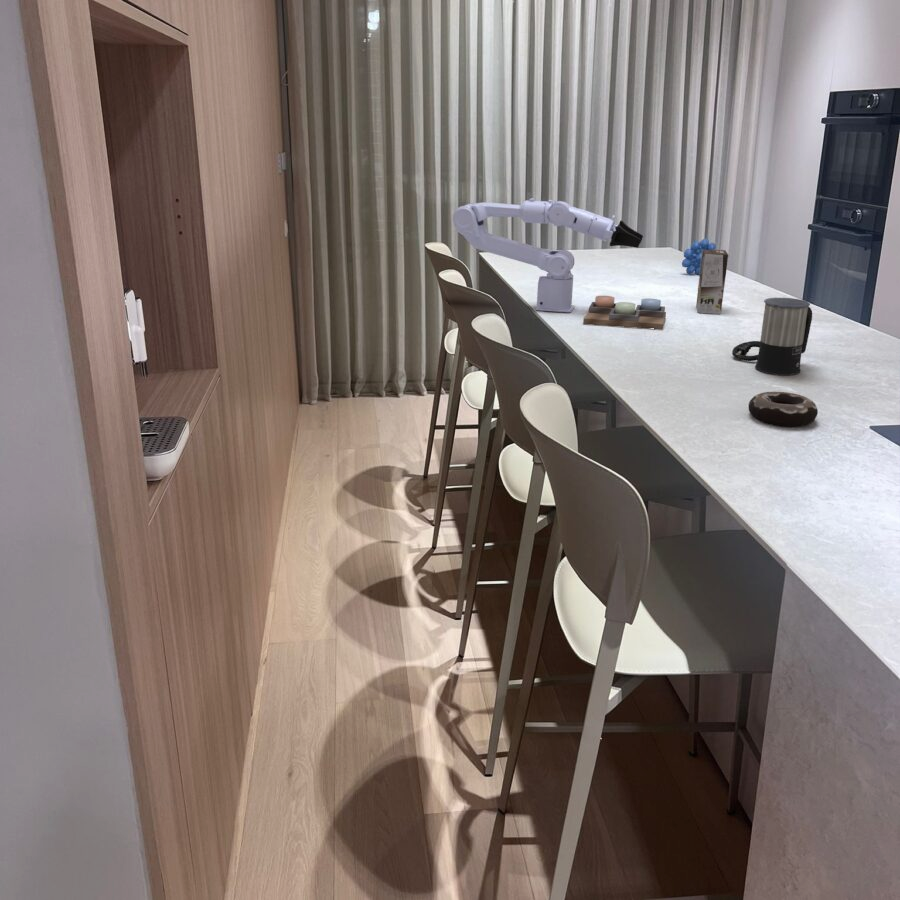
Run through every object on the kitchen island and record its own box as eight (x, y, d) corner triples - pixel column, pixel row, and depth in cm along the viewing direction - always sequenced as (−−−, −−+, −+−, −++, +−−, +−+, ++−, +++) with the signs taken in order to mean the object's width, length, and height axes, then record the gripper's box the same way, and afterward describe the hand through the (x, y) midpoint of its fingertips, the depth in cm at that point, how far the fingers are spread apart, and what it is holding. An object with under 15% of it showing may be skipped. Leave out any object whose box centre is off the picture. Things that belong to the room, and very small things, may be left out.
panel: (583, 324, 229) (584, 312, 228) (590, 312, 243) (591, 301, 242) (662, 329, 224) (663, 318, 223) (665, 317, 238) (666, 306, 237)
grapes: (709, 272, 305) (714, 236, 300) (717, 276, 298) (721, 239, 294) (676, 272, 304) (680, 236, 299) (683, 276, 297) (687, 239, 293)
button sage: (614, 314, 228) (614, 305, 227) (615, 310, 232) (616, 301, 231) (633, 316, 226) (634, 306, 226) (635, 312, 231) (636, 302, 230)
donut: (799, 409, 166) (803, 388, 165) (826, 430, 155) (830, 408, 154) (738, 409, 166) (741, 388, 165) (760, 430, 155) (764, 408, 154)
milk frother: (794, 378, 185) (805, 308, 179) (718, 367, 193) (727, 298, 187) (809, 363, 196) (819, 296, 191) (736, 353, 204) (745, 288, 199)
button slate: (639, 310, 232) (640, 301, 232) (641, 306, 237) (642, 297, 236) (659, 312, 231) (660, 302, 230) (660, 308, 236) (661, 299, 235)
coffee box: (721, 314, 242) (729, 254, 236) (697, 313, 243) (704, 253, 237) (719, 307, 250) (726, 249, 245) (695, 306, 252) (702, 248, 246)
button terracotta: (593, 307, 235) (594, 298, 235) (595, 303, 240) (596, 295, 239) (612, 308, 234) (613, 299, 233) (614, 305, 239) (615, 296, 238)
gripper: (593, 212, 227) (644, 230, 225) (600, 207, 240) (648, 223, 239) (584, 239, 230) (634, 256, 228) (591, 232, 243) (638, 248, 241)
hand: (640, 241), depth 234 cm, fingers open, 7 cm apart
